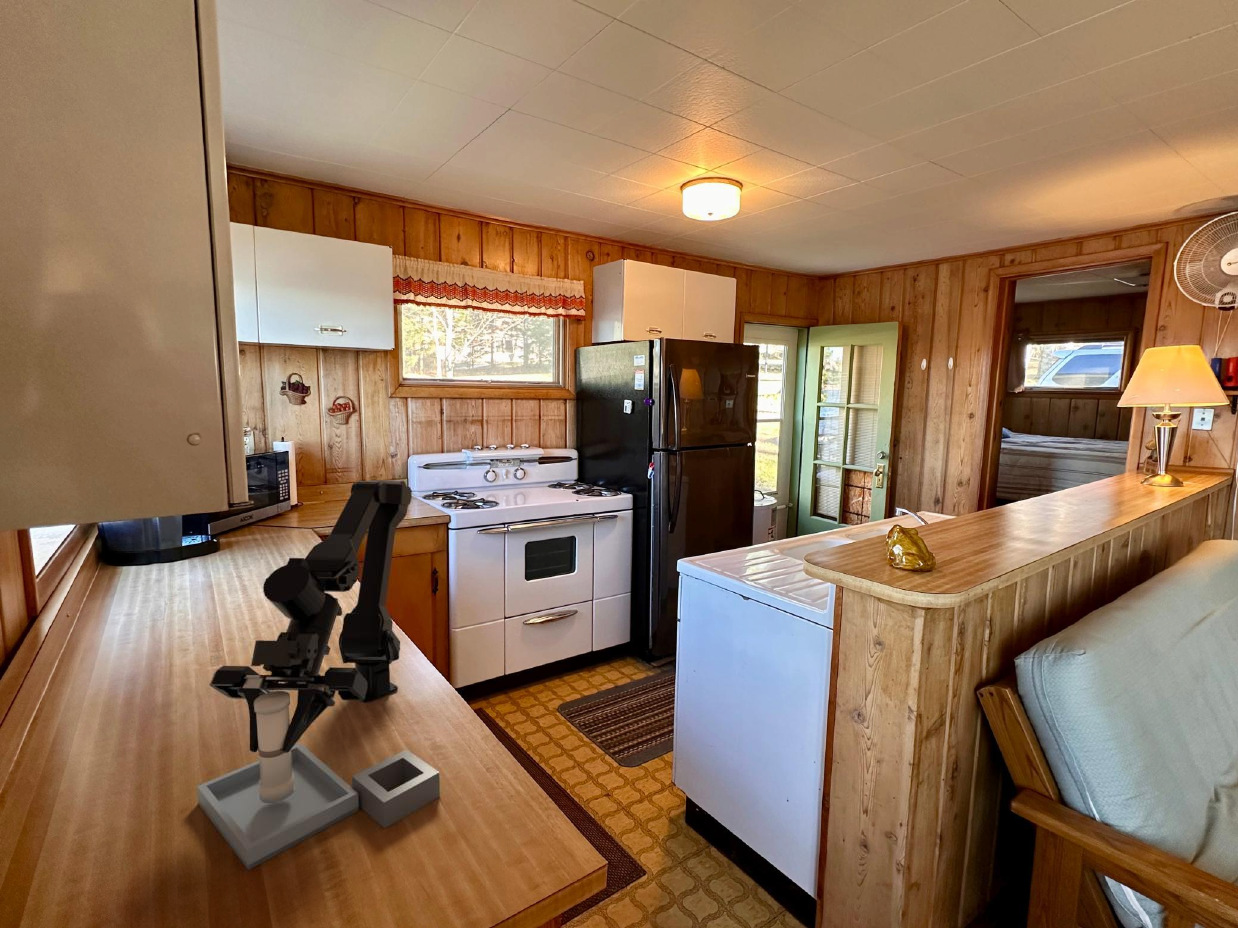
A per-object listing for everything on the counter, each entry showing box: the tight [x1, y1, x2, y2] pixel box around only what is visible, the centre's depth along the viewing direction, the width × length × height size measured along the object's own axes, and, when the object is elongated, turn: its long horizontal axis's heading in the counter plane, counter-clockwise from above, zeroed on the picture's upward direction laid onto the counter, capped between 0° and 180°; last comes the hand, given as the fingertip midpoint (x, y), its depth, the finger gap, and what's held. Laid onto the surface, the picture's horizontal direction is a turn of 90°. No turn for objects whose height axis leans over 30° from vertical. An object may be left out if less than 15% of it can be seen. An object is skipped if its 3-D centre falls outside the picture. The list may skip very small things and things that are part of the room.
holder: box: [351, 749, 441, 829], centre depth 81 cm, size 8×8×4 cm
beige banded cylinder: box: [254, 690, 295, 803], centre depth 78 cm, size 4×4×13 cm
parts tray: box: [196, 742, 360, 871], centre depth 79 cm, size 17×13×2 cm
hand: (268, 751), depth 77 cm, fingers closed on beige banded cylinder, 4 cm apart
